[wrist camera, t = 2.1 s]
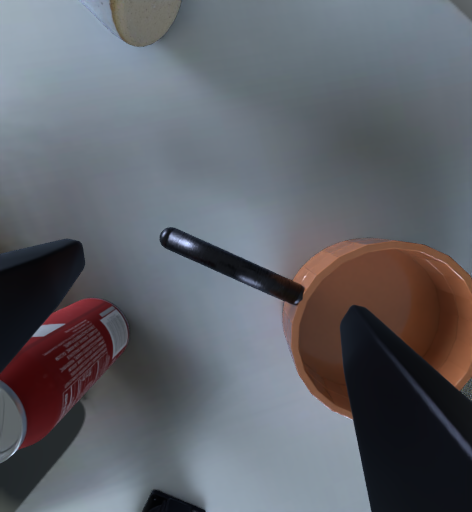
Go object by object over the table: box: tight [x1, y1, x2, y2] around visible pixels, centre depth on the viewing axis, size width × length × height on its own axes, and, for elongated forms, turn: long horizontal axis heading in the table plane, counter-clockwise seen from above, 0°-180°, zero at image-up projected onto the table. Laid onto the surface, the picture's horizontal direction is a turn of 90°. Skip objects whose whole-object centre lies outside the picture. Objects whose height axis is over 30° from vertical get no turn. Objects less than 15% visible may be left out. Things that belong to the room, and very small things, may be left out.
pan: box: [283, 238, 472, 420], centre depth 22 cm, size 15×15×5 cm
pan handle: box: [160, 227, 305, 305], centre depth 20 cm, size 13×2×2 cm, turn 66°
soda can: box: [0, 298, 130, 463], centre depth 19 cm, size 7×7×12 cm
